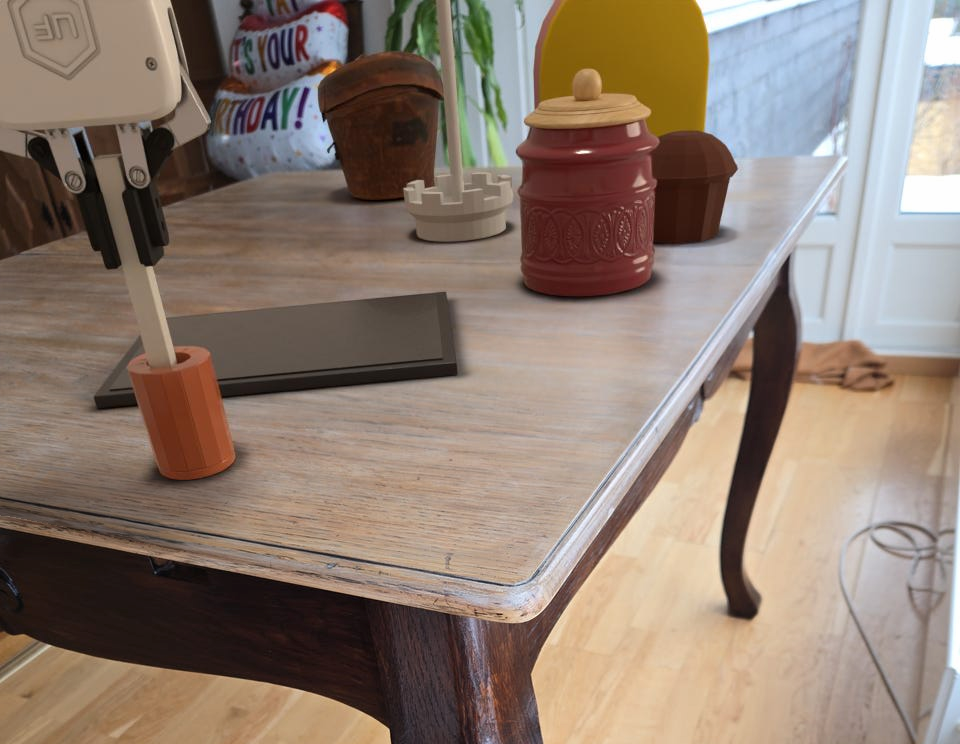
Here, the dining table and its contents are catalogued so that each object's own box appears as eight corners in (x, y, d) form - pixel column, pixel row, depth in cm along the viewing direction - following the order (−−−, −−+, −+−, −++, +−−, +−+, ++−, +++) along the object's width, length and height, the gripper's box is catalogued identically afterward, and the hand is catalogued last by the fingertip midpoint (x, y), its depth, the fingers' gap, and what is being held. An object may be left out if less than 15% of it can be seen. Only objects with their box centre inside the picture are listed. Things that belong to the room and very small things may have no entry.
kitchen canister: (619, 304, 81) (624, 75, 70) (496, 292, 87) (484, 79, 76) (674, 267, 89) (685, 58, 79) (559, 258, 95) (556, 63, 85)
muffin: (606, 237, 101) (607, 137, 95) (671, 218, 107) (676, 123, 101) (688, 251, 94) (695, 144, 88) (753, 230, 99) (764, 128, 93)
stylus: (156, 393, 56) (91, 158, 48) (160, 385, 57) (98, 155, 49) (178, 391, 56) (117, 156, 48) (182, 383, 57) (124, 153, 49)
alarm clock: (685, 180, 125) (699, -58, 109) (702, 192, 117) (719, -61, 102) (536, 193, 125) (529, -43, 109) (543, 206, 117) (536, -45, 102)
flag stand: (510, 240, 103) (494, -93, 86) (400, 246, 105) (362, -80, 87) (517, 216, 114) (504, -86, 96) (417, 221, 115) (386, -74, 98)
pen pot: (151, 483, 57) (117, 377, 53) (168, 450, 61) (137, 349, 57) (229, 476, 57) (201, 369, 53) (240, 443, 61) (215, 342, 57)
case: (381, 178, 144) (365, 46, 134) (479, 184, 134) (470, 40, 123) (301, 201, 133) (276, 58, 123) (401, 209, 123) (384, 54, 112)
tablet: (97, 409, 69) (92, 395, 68) (154, 329, 85) (151, 317, 84) (457, 374, 69) (456, 360, 68) (447, 301, 85) (446, 290, 85)
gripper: (-195, -159, 38) (-23, 290, 49) (174, -184, 38) (262, 268, 49) (-113, -140, 44) (23, 256, 55) (205, -161, 44) (277, 237, 55)
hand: (135, 260), depth 52 cm, fingers closed on stylus, 1 cm apart
